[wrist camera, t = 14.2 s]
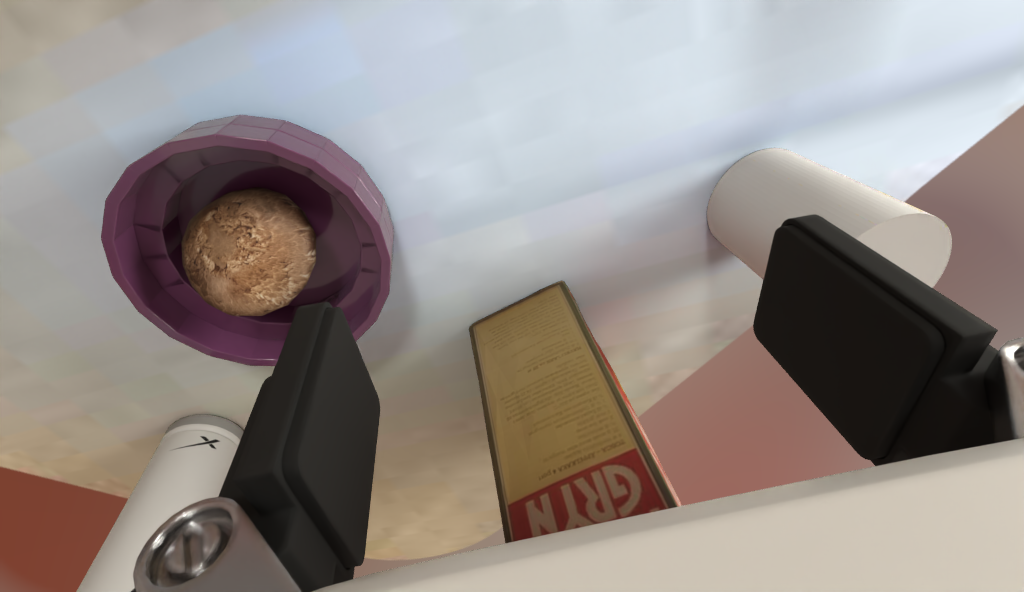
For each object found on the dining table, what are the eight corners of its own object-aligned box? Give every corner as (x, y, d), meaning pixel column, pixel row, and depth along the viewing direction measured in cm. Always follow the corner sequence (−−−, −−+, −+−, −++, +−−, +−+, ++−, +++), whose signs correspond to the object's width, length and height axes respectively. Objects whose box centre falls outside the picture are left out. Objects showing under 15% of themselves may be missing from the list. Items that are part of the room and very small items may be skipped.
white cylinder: (798, 234, 39) (925, 318, 30) (704, 257, 39) (801, 350, 29) (815, 136, 35) (973, 197, 25) (709, 162, 35) (826, 234, 25)
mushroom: (332, 324, 32) (271, 332, 26) (228, 303, 33) (147, 306, 27) (351, 207, 32) (294, 187, 26) (245, 190, 33) (167, 167, 27)
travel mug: (212, 400, 39) (60, 707, 22) (264, 446, 43) (167, 738, 26) (145, 428, 39) (-52, 749, 23) (202, 471, 43) (69, 774, 26)
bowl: (90, 139, 27) (32, 167, 23) (353, 92, 28) (342, 111, 24) (218, 340, 36) (192, 387, 32) (416, 299, 37) (416, 339, 33)
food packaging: (617, 379, 45) (784, 709, 25) (528, 419, 46) (617, 769, 26) (566, 275, 38) (744, 623, 17) (462, 326, 39) (513, 712, 18)
